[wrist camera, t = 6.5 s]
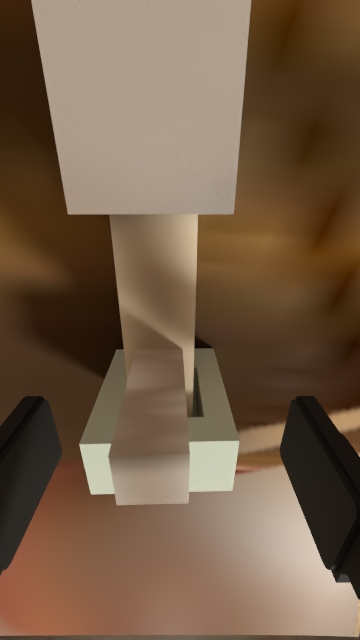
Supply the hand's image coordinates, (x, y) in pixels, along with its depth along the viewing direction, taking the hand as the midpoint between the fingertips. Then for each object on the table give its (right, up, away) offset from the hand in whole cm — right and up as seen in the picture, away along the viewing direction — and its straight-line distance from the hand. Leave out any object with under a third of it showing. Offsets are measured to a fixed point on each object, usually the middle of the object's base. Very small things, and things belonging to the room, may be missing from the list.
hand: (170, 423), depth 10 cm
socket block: (-1, 0, +12) cm, 12 cm away
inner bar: (-1, +6, +5) cm, 8 cm away
